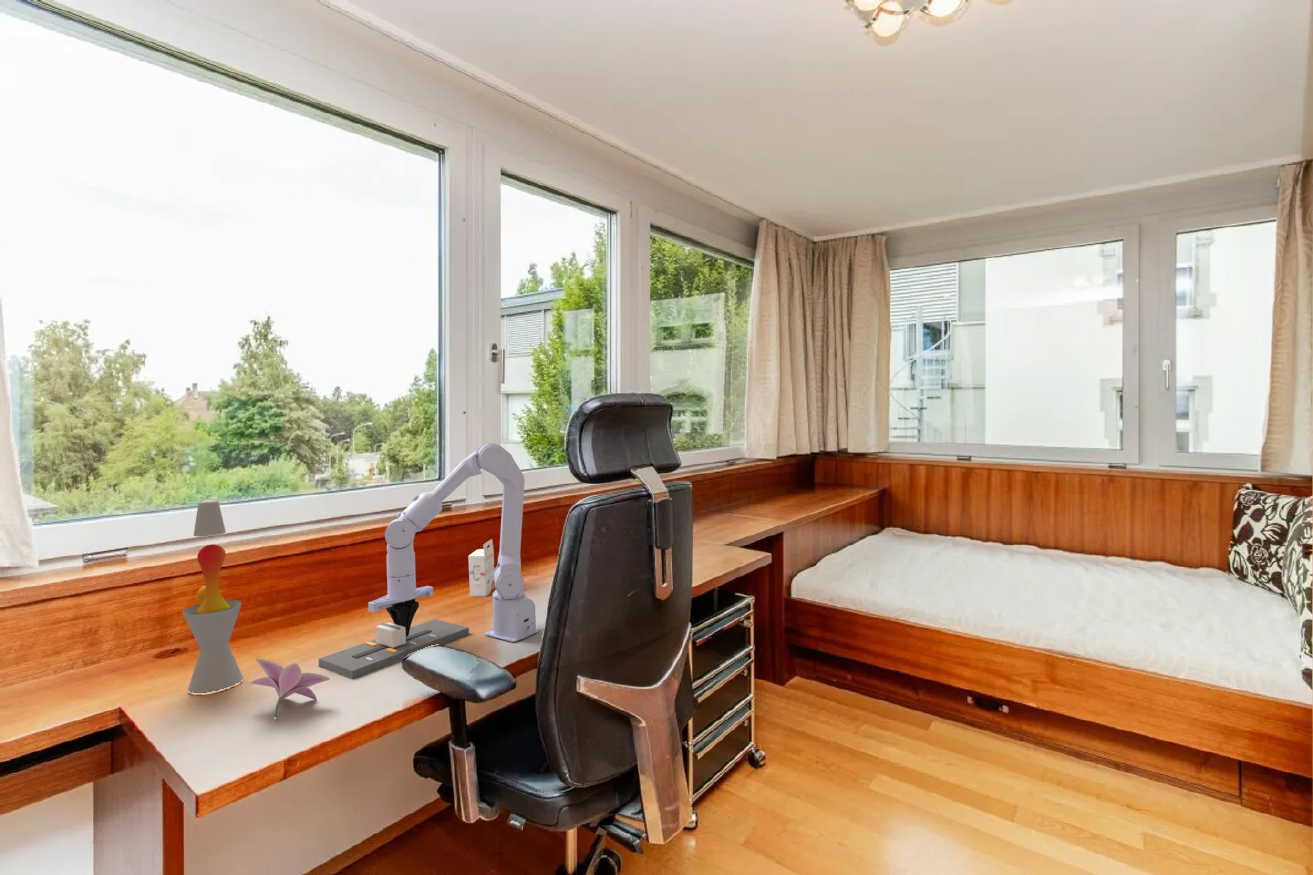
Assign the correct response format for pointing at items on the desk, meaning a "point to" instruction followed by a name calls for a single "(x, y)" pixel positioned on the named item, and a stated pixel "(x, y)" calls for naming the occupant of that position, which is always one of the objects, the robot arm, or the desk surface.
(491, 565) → the ink cartridge box
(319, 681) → the lily
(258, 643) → the desk surface
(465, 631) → the board
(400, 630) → the fader tab
